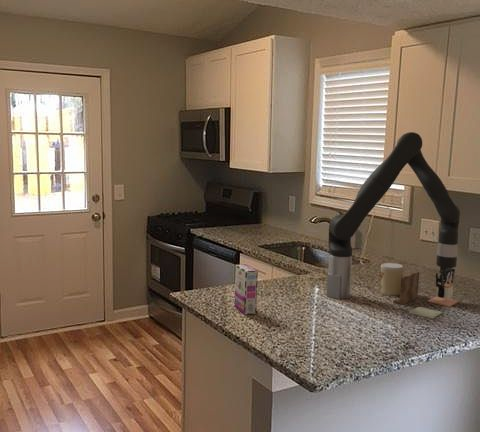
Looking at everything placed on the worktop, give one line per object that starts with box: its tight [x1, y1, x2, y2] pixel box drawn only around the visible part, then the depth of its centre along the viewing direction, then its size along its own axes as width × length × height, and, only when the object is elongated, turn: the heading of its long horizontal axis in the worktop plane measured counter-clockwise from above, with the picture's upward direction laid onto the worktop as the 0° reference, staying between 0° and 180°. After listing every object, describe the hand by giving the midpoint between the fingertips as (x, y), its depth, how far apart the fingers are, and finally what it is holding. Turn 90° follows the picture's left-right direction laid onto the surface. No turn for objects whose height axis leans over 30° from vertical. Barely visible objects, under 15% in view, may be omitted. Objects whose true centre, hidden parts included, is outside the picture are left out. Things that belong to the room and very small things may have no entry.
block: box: [434, 283, 454, 299], centre depth 210 cm, size 5×5×5 cm
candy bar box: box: [233, 264, 259, 316], centre depth 193 cm, size 11×5×16 cm, turn 21°
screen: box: [392, 270, 420, 306], centre depth 211 cm, size 14×4×11 cm, turn 137°
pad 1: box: [408, 306, 443, 319], centre depth 196 cm, size 9×9×1 cm
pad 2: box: [427, 296, 460, 308], centre depth 210 cm, size 9×9×1 cm
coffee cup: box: [380, 262, 404, 296], centre depth 221 cm, size 9×9×12 cm
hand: (443, 295), depth 210 cm, fingers closed on block, 5 cm apart
